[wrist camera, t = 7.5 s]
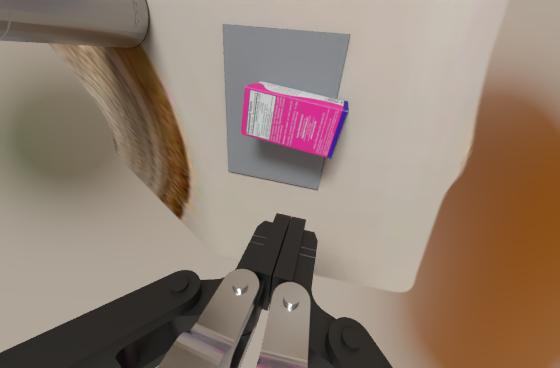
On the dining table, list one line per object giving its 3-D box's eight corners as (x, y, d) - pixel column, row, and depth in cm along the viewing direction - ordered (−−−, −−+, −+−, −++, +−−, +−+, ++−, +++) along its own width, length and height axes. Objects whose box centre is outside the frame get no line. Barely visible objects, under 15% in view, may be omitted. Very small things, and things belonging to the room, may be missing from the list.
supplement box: (333, 145, 30) (255, 122, 31) (349, 100, 27) (261, 77, 28) (330, 162, 25) (238, 134, 26) (349, 110, 22) (243, 82, 23)
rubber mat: (229, 170, 37) (228, 171, 36) (224, 24, 26) (222, 24, 26) (317, 188, 34) (317, 189, 34) (349, 34, 24) (349, 34, 24)
